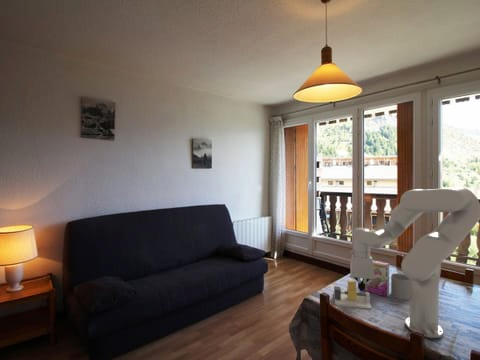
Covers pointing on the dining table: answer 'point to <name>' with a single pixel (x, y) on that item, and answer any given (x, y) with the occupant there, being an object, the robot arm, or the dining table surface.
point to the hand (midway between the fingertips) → (361, 290)
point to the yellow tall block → (352, 290)
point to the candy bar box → (379, 279)
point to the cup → (400, 286)
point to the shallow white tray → (343, 300)
